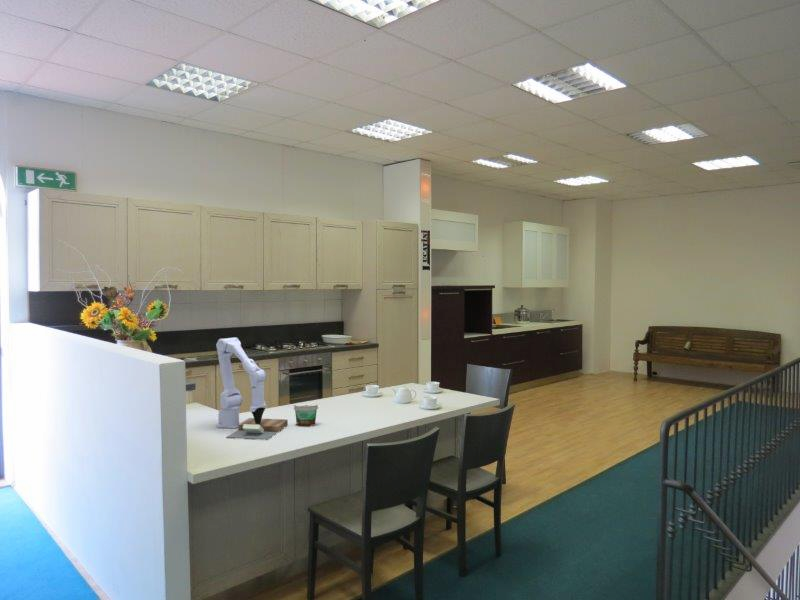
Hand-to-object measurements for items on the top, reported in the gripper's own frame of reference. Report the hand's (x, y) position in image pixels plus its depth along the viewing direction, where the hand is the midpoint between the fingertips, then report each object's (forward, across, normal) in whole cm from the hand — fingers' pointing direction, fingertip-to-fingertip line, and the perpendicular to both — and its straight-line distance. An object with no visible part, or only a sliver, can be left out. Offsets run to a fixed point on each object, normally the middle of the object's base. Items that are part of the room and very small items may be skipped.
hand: (257, 423), depth 268 cm
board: (+4, +7, 0) cm, 8 cm away
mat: (+4, -7, 0) cm, 8 cm away
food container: (+4, +16, -19) cm, 25 cm away
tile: (0, -6, 0) cm, 6 cm away
